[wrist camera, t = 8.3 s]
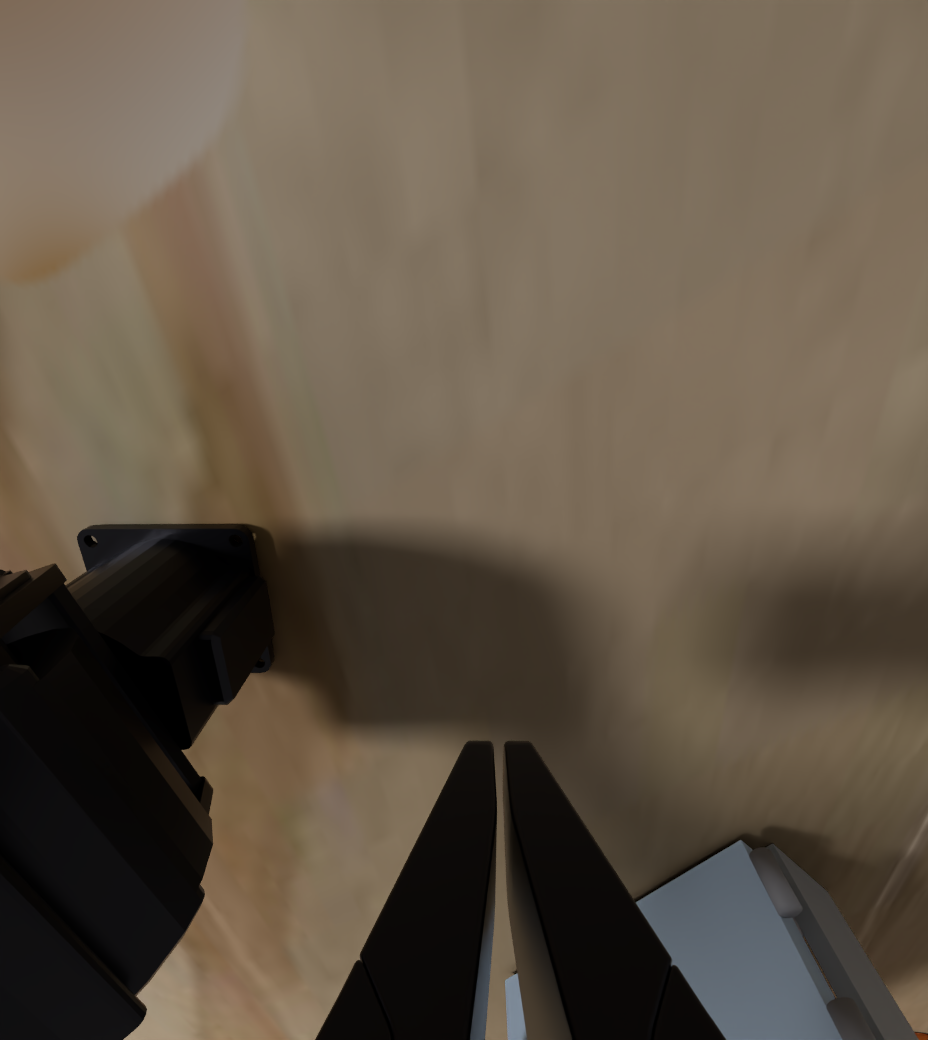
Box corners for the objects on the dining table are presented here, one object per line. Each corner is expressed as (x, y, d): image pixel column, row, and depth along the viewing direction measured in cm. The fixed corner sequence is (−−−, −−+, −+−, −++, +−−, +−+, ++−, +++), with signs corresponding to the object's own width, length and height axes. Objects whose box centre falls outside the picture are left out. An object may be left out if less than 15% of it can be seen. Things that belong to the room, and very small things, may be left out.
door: (490, 970, 29) (498, 1279, 20) (743, 816, 24) (910, 1126, 15) (523, 991, 30) (546, 1299, 20) (776, 844, 25) (956, 1158, 16)
